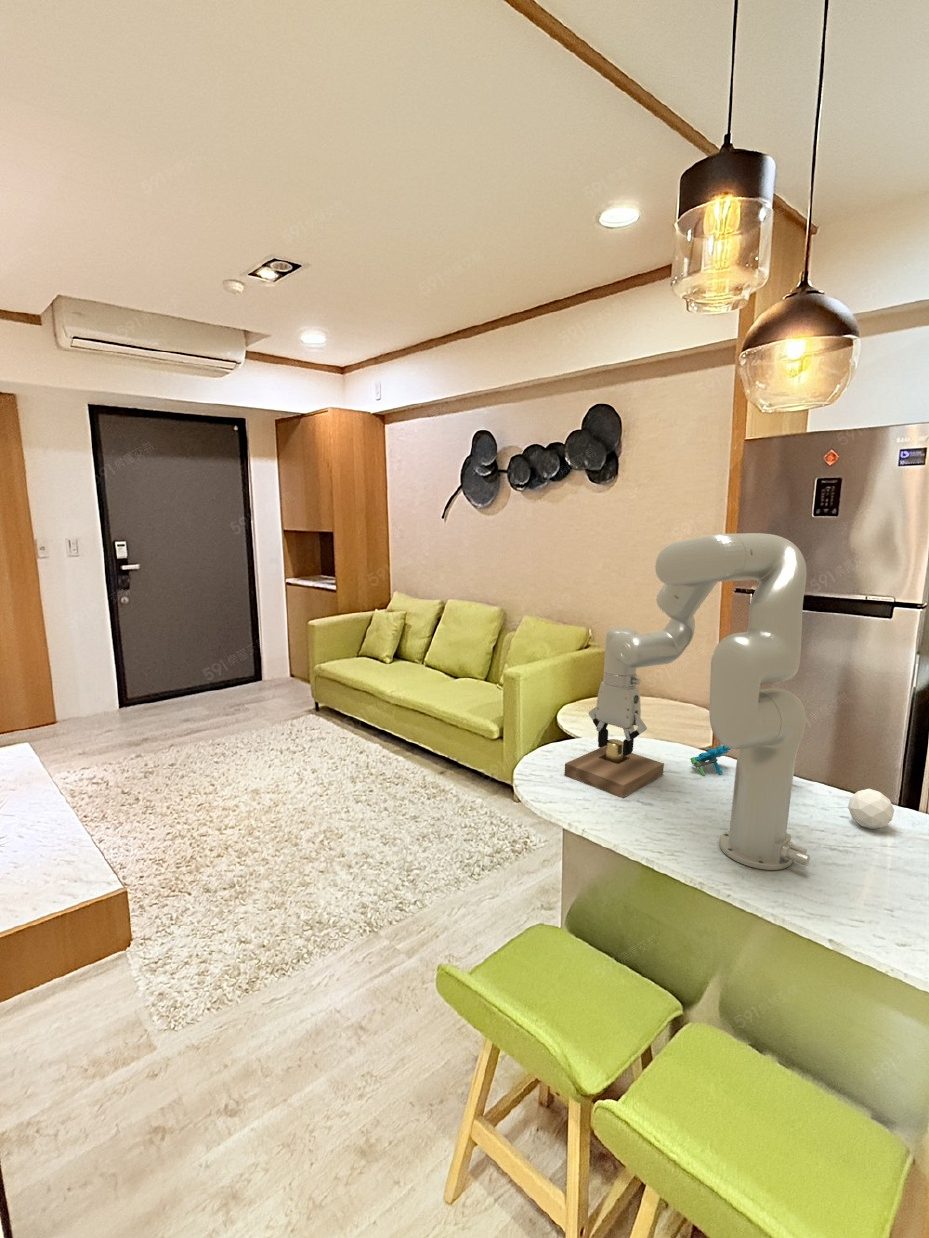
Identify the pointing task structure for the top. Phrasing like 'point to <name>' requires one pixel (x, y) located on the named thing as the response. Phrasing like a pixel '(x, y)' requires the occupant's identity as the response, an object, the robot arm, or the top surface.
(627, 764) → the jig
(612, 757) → the brass cylinder
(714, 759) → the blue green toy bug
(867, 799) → the geometric ball
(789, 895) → the top surface
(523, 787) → the top surface
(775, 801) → the robot arm
